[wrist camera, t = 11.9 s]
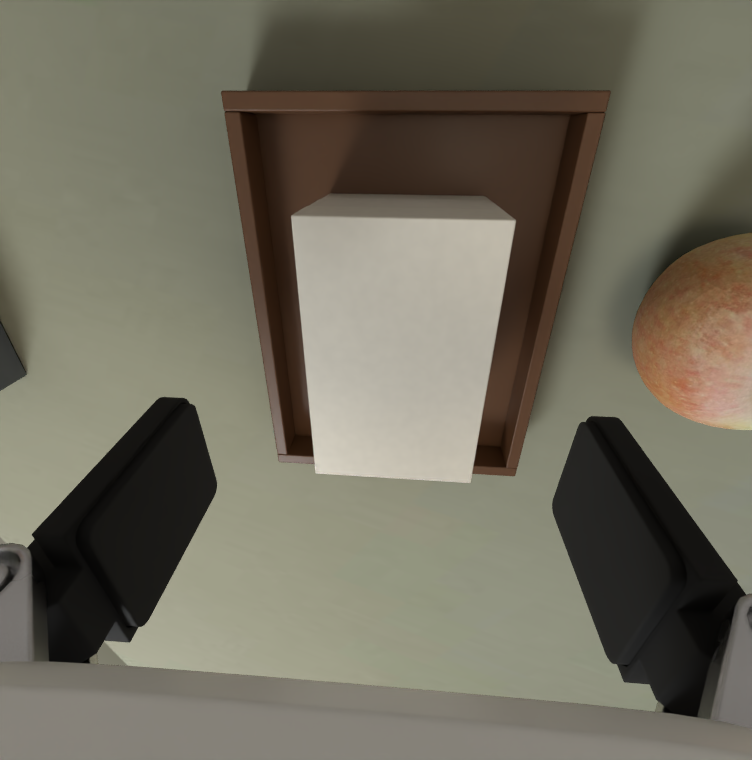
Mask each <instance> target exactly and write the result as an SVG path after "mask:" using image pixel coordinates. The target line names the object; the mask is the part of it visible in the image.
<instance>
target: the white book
mask: <svg viewBox="0 0 752 760" xmlns="http://www.w3.org/2000/svg"><path fill="white" fill-rule="evenodd" d="M291 221H292V232H293V242H294V253H295V263H296V274H297V284H298V295H299V305H300V316H301V326H302V337H303V347H304V357H305V368H306V378H307V389H308V399H309V410H310V420H311V431H312V441H313V452H314V462H315V472H316V473H319V474H335V475H351V476H367V477H383V478H399V479H415V480H431V481H447V482H463V483H470V482H471V477H472V472H473V466H474V460H475V454H476V449H477V443H478V437H479V431H480V426H481V420H482V414H483V408H484V403H485V397H486V391H487V385H488V380H489V374H490V368H491V363H492V357H493V351H494V345H495V340H496V334H497V328H498V322H499V317H500V311H501V305H502V299H503V294H504V288H505V282H506V276H507V271H508V265H509V259H510V253H511V248H512V242H513V236H514V230H515V225H516V220H515V219H514V218H513V217H511V216H510V215H509V214H508V213H506V212H505V211H504V210H499V209H444V208H390V207H335V206H306V207H304V208H303V209H301V210H299V211H298V212H296V213H295V214H293V215H291Z"/></svg>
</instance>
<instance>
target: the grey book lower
mask: <svg viewBox="0 0 752 760" xmlns="http://www.w3.org/2000/svg"><path fill="white" fill-rule="evenodd" d="M25 375H26V372H25V370H24V368H23V366H22V364H21V363H20V361H19V359H18V357H17V355H16V353H15V351H14V349H13V347H12V345H11V343H10V341H9V339H8V337H7V335H6V333H5V331H4V329H3V327H2V325H1V323H0V391H1V390H2V389H4V388H6V387H7V386H9V385H11V384H12V383H14V382H16V381H17V380H19V379H21V378H22V377H24V376H25Z"/></svg>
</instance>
